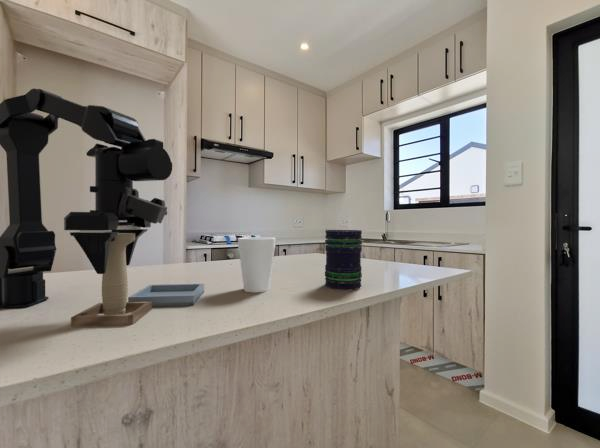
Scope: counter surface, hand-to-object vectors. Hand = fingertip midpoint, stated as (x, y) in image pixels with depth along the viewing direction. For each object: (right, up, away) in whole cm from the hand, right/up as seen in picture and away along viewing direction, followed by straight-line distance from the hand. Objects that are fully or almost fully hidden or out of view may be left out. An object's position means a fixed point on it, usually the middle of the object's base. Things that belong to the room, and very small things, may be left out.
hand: (114, 269), depth 54 cm
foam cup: (+22, -9, +22) cm, 33 cm away
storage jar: (+45, -9, +27) cm, 53 cm away
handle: (0, -9, 0) cm, 9 cm away
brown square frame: (0, -9, 0) cm, 9 cm away
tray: (+4, -9, +13) cm, 16 cm away
